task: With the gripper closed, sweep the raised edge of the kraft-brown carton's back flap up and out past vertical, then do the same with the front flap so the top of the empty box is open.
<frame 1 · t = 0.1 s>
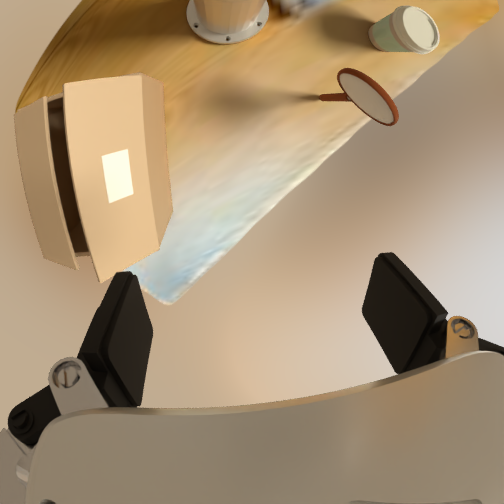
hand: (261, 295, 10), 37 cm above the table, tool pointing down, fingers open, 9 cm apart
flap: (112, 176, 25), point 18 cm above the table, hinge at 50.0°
coffee cup: (381, 37, 34), on the table
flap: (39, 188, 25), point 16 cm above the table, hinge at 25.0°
carton: (115, 155, 40), on the table
magnifying glass: (320, 97, 39), on the table
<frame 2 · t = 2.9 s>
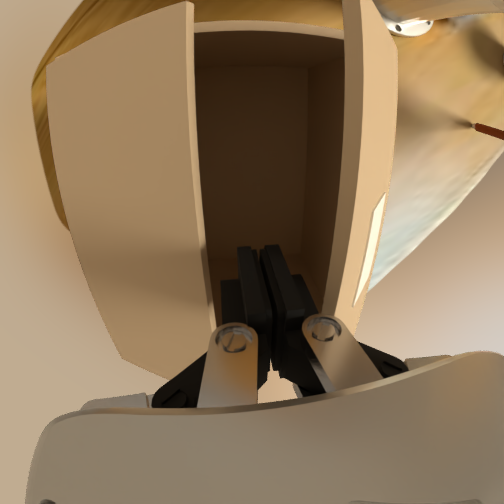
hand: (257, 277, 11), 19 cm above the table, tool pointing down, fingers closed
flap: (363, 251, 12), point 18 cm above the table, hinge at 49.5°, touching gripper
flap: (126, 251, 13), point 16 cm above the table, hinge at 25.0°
carton: (223, 167, 27), on the table
magnifying glass: (471, 125, 26), on the table
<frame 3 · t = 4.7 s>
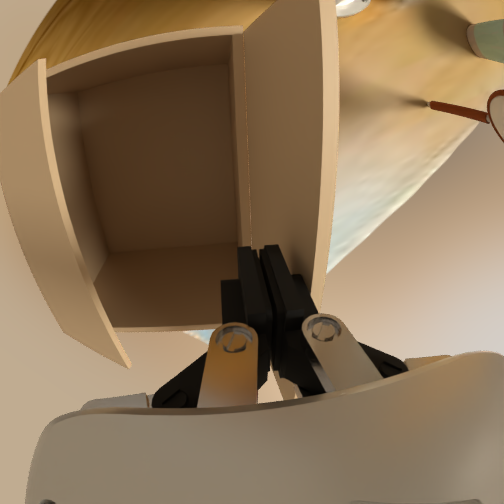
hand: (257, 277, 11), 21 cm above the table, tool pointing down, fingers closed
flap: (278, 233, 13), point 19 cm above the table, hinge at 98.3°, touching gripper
coffee cup: (476, 41, 20), on the table
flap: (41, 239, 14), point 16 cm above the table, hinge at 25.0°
carton: (156, 164, 28), on the table
magnifying glass: (427, 104, 27), on the table
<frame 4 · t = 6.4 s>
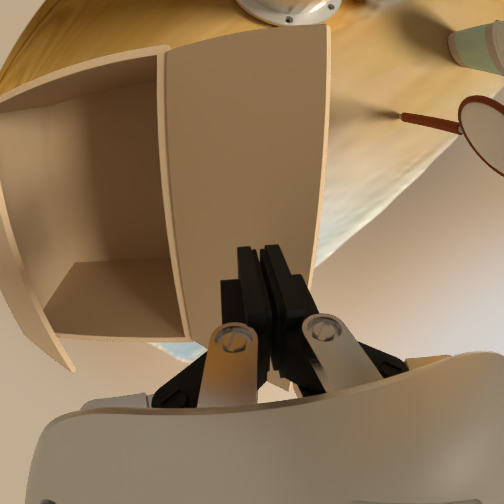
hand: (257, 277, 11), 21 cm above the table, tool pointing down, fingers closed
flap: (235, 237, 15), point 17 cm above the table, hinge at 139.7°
coffee cup: (459, 49, 23), on the table
carton: (116, 178, 28), on the table
magnifying glass: (398, 116, 28), on the table
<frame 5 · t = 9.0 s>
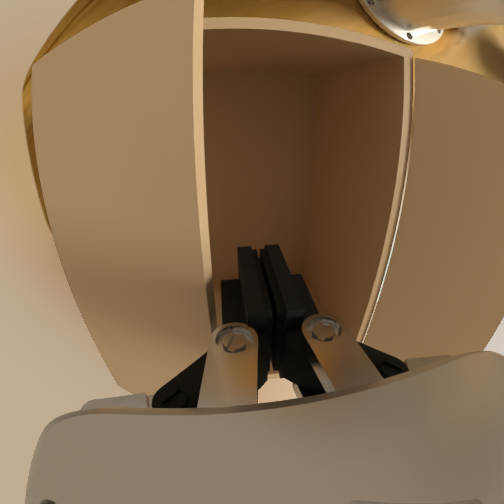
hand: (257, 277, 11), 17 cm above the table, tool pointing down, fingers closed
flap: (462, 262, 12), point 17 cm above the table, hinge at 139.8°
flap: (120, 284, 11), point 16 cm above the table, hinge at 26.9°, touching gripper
carton: (225, 179, 26), on the table
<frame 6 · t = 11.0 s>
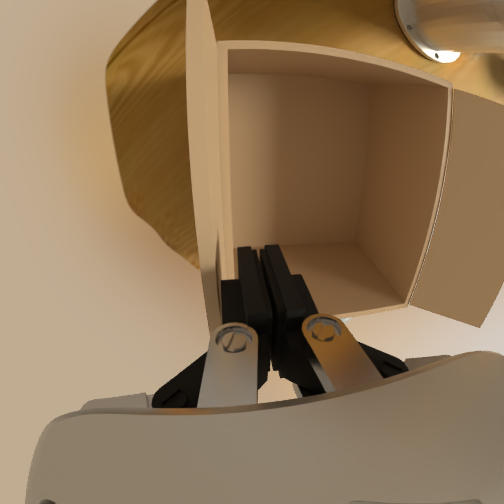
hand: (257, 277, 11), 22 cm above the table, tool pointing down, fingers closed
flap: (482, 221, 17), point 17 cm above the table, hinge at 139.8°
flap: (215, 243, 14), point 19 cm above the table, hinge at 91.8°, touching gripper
carton: (299, 163, 31), on the table
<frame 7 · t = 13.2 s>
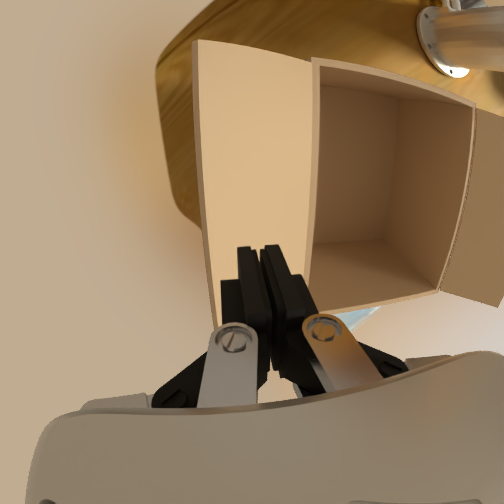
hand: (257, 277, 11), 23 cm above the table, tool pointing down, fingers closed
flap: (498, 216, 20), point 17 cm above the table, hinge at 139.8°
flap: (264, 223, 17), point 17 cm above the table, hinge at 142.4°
carton: (339, 168, 33), on the table
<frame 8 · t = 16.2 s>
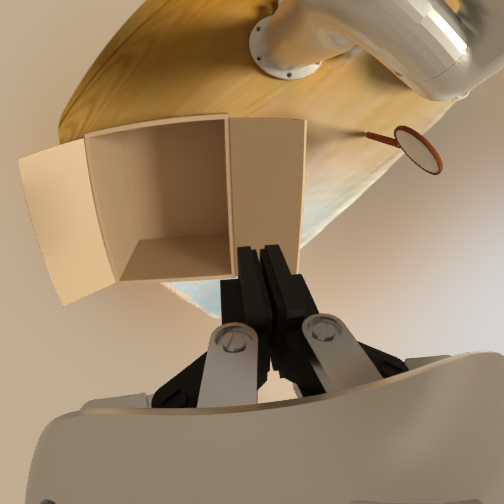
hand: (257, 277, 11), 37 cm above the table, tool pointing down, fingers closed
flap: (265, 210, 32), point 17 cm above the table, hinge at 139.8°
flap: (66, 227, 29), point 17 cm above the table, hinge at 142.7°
carton: (176, 180, 45), on the table
magnifying glass: (365, 134, 45), on the table
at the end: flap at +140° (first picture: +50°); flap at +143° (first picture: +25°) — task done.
